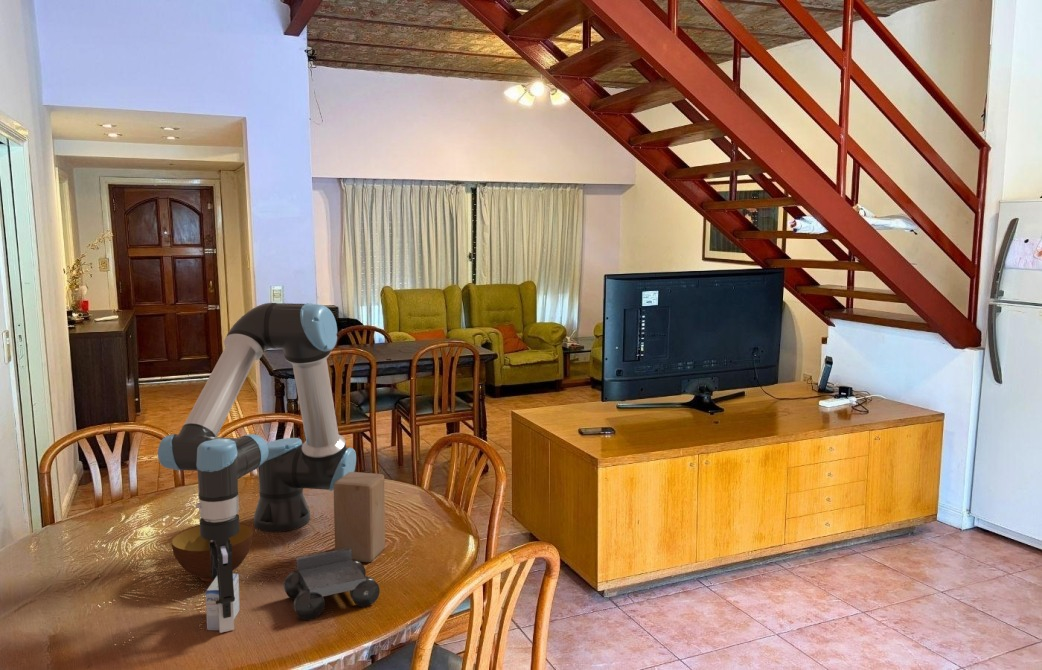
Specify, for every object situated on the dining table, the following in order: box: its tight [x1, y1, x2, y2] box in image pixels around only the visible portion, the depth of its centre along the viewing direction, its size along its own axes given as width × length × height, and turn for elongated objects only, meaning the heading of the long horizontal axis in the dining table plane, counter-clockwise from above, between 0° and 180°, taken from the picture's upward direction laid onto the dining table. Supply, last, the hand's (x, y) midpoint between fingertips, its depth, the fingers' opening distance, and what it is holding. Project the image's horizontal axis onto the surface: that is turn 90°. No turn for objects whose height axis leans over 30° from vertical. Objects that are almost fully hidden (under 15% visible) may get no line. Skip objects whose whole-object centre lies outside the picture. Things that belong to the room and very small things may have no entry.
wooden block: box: [333, 471, 386, 563], centre depth 188 cm, size 10×10×20 cm
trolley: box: [283, 547, 381, 621], centre depth 164 cm, size 12×18×9 cm, turn 119°
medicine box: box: [205, 573, 240, 631], centre depth 155 cm, size 8×4×9 cm, turn 5°
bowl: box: [171, 521, 254, 583], centre depth 175 cm, size 18×18×10 cm
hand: (223, 619), depth 155 cm, fingers closed on medicine box, 9 cm apart
